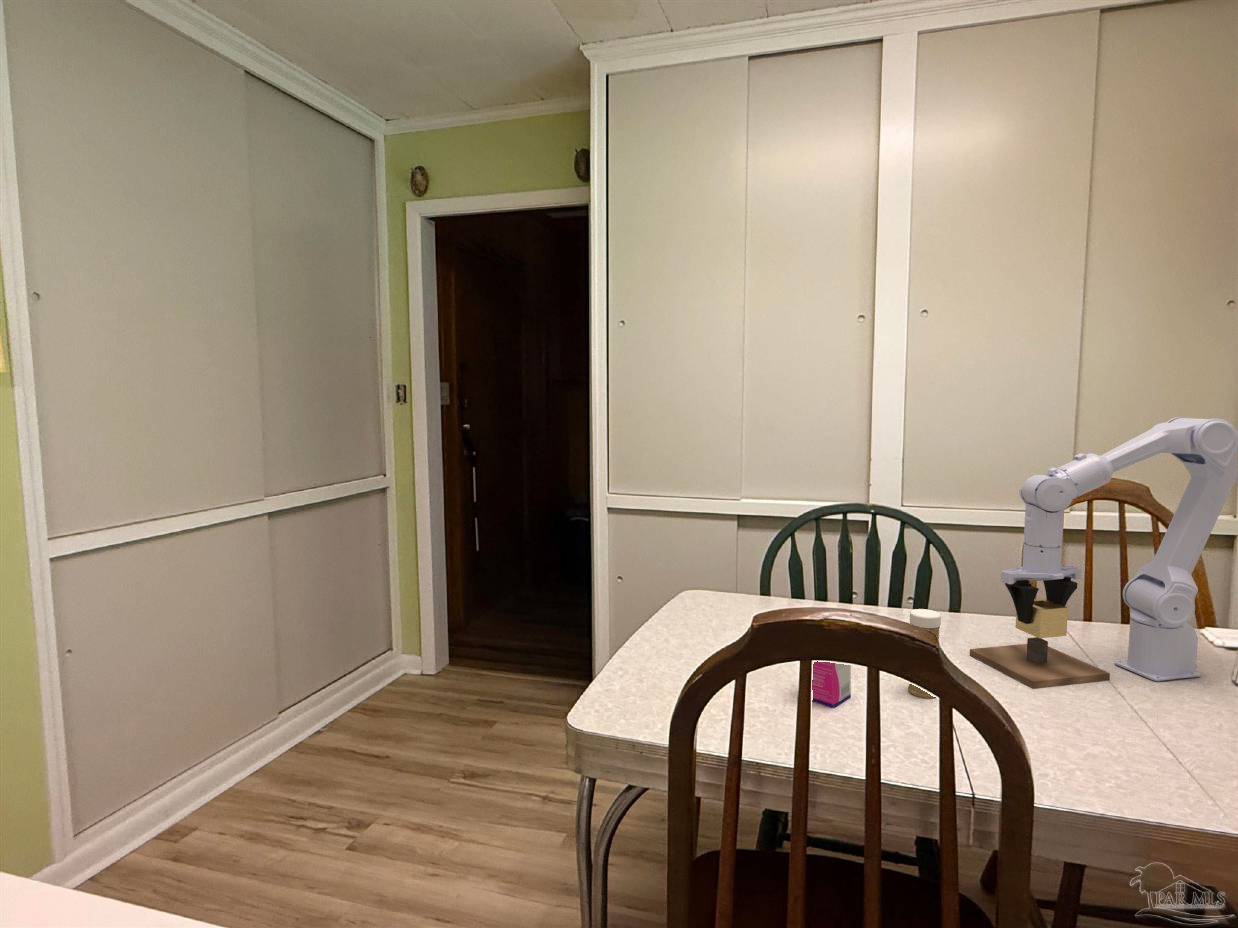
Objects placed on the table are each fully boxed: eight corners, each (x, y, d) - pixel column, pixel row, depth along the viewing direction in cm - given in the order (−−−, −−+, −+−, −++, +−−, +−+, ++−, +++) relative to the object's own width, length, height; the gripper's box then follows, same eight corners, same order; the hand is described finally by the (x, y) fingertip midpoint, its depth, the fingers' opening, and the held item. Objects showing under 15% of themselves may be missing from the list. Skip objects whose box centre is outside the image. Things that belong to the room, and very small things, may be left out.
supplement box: (818, 686, 116) (819, 619, 115) (851, 697, 112) (853, 627, 111) (799, 697, 112) (800, 627, 111) (833, 708, 108) (835, 636, 107)
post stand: (1039, 648, 132) (1040, 622, 132) (1109, 680, 118) (1111, 651, 117) (969, 655, 129) (970, 629, 129) (1032, 688, 115) (1034, 658, 114)
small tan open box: (1041, 625, 125) (1043, 598, 125) (1066, 635, 120) (1068, 607, 120) (1015, 627, 124) (1017, 600, 124) (1039, 638, 119) (1041, 609, 119)
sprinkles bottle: (943, 694, 113) (947, 613, 111) (927, 701, 110) (930, 618, 109) (918, 684, 116) (920, 606, 115) (901, 691, 114) (903, 611, 113)
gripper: (1024, 551, 116) (1020, 631, 117) (1098, 547, 119) (1093, 624, 120) (993, 543, 123) (990, 618, 124) (1063, 538, 126) (1059, 612, 127)
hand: (1038, 620), depth 123 cm, fingers closed on small tan open box, 5 cm apart
